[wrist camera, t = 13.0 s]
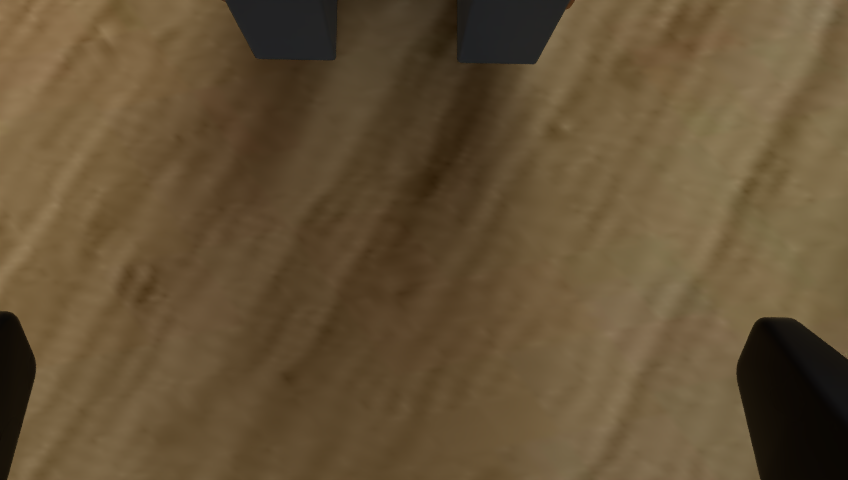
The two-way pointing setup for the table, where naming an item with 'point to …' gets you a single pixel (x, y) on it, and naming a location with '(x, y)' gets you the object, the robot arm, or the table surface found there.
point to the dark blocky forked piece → (476, 28)
